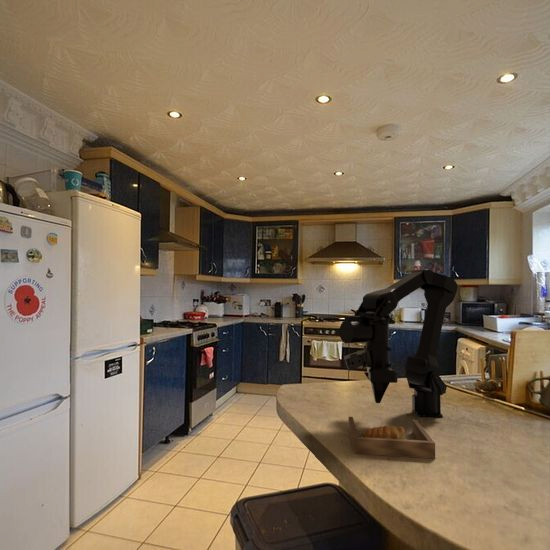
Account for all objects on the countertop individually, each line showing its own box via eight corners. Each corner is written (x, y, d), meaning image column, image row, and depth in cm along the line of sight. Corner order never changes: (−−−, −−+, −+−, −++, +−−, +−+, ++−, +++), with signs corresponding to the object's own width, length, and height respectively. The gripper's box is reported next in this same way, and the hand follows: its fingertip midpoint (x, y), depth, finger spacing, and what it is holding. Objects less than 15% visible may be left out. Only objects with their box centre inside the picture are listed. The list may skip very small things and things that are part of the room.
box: (416, 432, 85) (416, 420, 85) (435, 458, 72) (435, 443, 72) (348, 429, 87) (348, 416, 87) (354, 453, 74) (354, 438, 74)
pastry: (362, 446, 78) (362, 428, 78) (362, 435, 84) (362, 418, 84) (408, 451, 75) (407, 433, 75) (404, 439, 82) (404, 422, 82)
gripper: (343, 336, 103) (343, 391, 102) (349, 345, 84) (349, 413, 83) (382, 337, 101) (383, 393, 100) (397, 346, 83) (398, 415, 82)
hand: (377, 402), depth 92 cm, fingers closed
